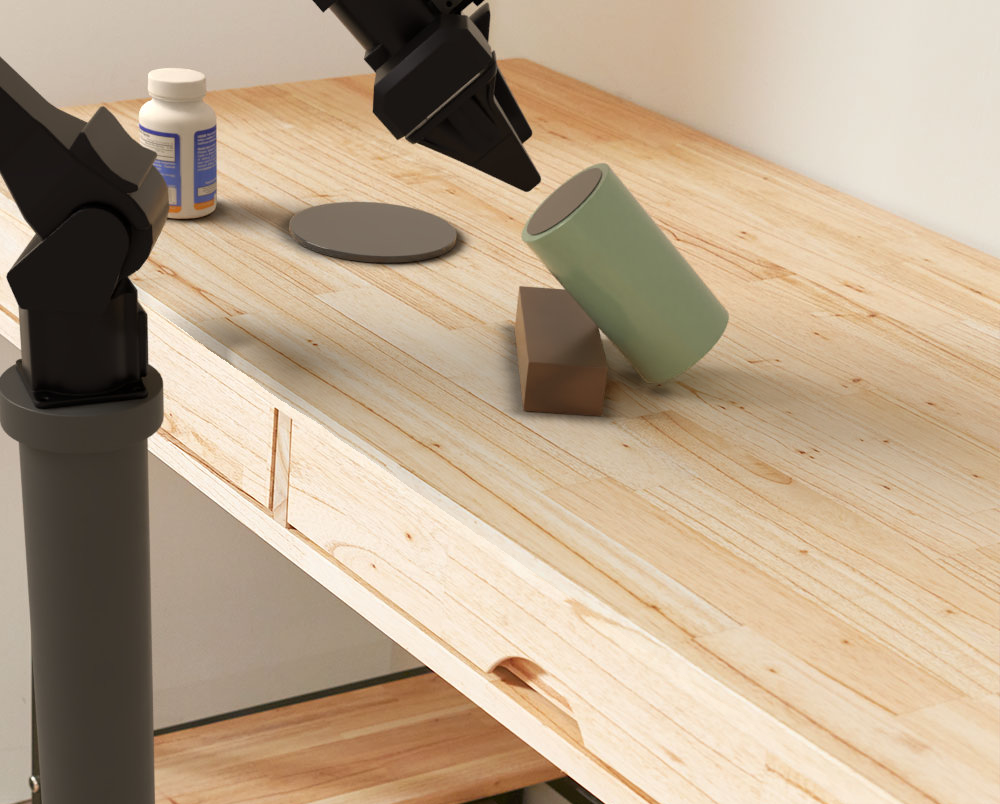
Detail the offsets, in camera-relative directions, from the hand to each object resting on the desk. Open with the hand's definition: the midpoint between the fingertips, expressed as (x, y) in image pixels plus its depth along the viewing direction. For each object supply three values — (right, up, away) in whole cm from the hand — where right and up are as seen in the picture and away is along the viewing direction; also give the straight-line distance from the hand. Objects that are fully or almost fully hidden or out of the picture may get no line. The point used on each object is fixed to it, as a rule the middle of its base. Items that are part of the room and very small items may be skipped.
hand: (530, 161), depth 86 cm
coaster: (-11, 0, +25) cm, 27 cm away
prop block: (+2, -11, +6) cm, 13 cm away
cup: (+5, -11, +6) cm, 14 cm away
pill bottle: (-25, +2, +26) cm, 36 cm away
